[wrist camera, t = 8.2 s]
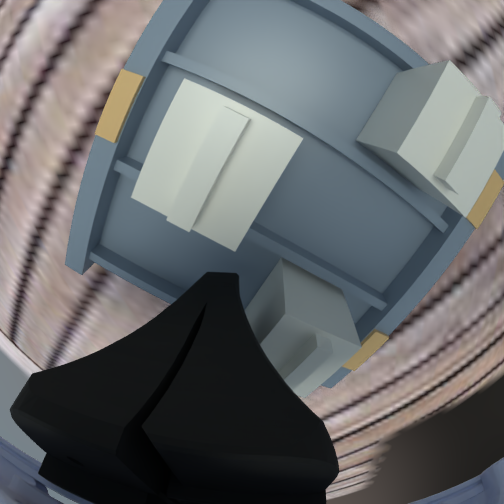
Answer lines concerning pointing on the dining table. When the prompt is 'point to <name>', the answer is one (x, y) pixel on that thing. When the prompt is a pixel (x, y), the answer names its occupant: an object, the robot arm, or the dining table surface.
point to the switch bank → (294, 175)
